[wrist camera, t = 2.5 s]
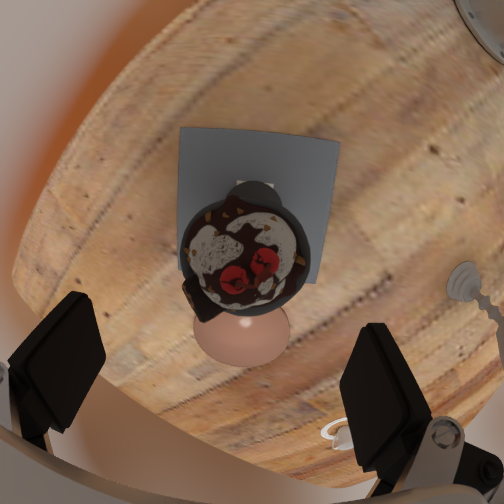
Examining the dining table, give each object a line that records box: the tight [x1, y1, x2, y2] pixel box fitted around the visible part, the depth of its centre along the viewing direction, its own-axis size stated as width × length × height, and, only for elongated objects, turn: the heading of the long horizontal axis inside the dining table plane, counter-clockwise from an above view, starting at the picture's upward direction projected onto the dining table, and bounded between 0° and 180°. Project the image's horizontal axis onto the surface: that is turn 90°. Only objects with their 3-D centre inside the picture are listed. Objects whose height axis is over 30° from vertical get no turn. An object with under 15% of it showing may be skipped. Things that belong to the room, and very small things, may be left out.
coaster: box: [193, 307, 290, 367], centre depth 28 cm, size 10×10×1 cm
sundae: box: [179, 181, 311, 323], centre depth 16 cm, size 7×7×15 cm
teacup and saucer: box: [321, 417, 354, 450], centre depth 35 cm, size 9×8×4 cm
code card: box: [177, 128, 340, 284], centre depth 23 cm, size 13×13×1 cm
